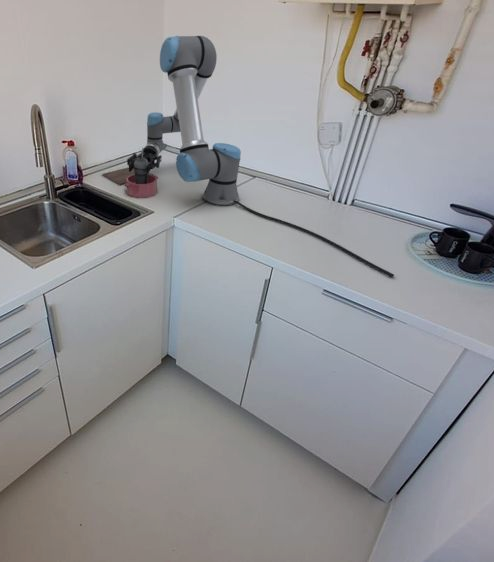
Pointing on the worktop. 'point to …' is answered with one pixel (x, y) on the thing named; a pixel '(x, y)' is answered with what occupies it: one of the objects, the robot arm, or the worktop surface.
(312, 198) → the worktop surface
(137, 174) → the beverage cup
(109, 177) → the board
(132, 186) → the pot
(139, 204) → the worktop surface
